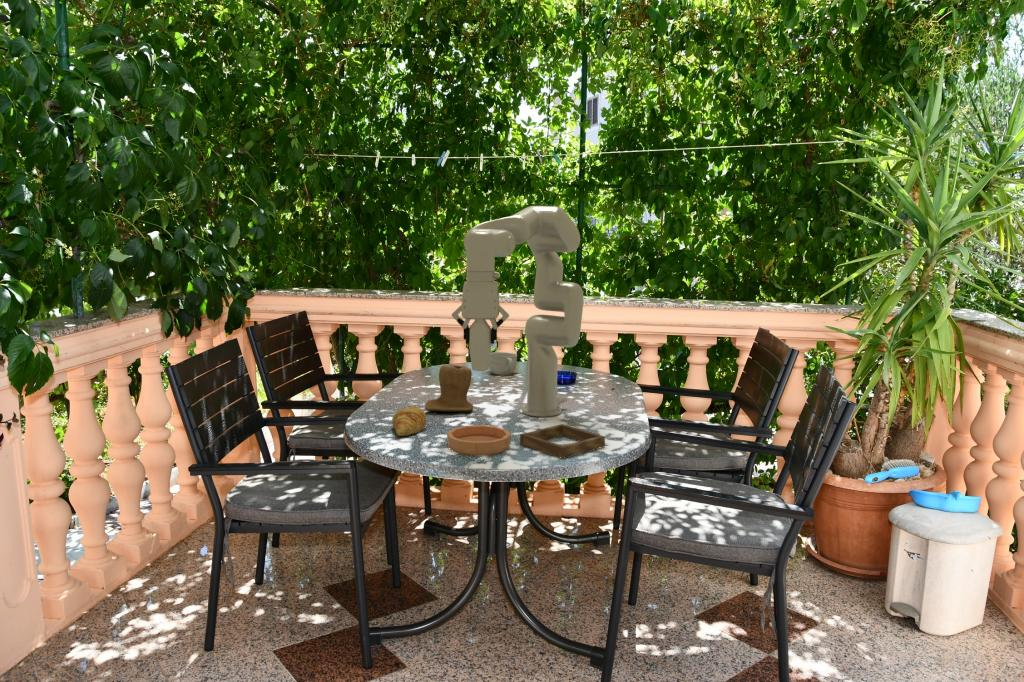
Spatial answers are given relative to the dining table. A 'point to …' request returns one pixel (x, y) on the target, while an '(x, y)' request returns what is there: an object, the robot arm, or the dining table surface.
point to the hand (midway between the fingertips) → (480, 342)
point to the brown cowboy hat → (452, 390)
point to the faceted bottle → (480, 345)
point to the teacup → (502, 363)
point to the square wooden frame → (539, 443)
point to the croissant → (409, 421)
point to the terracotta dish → (479, 440)
